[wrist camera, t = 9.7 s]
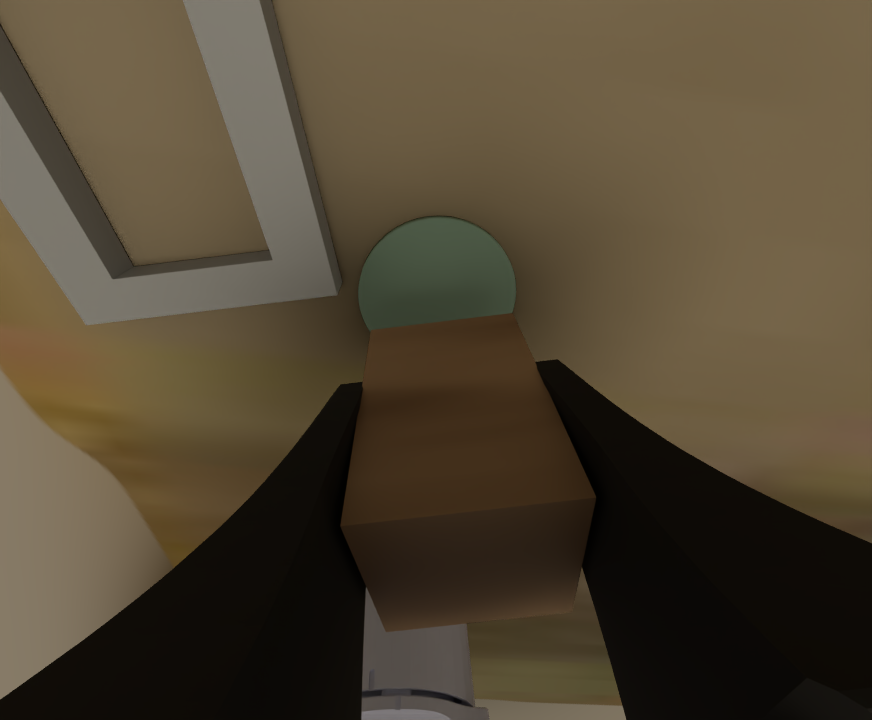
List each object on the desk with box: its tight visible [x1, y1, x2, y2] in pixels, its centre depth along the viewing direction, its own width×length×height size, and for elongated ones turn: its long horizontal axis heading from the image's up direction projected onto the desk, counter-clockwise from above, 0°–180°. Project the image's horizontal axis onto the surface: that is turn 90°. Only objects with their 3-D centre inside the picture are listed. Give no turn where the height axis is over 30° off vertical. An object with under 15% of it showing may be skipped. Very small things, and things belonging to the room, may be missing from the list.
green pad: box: [358, 216, 516, 332], centre depth 15 cm, size 6×6×1 cm
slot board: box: [0, 0, 342, 325], centre depth 11 cm, size 12×9×1 cm
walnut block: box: [340, 313, 596, 632], centre depth 10 cm, size 4×4×6 cm
